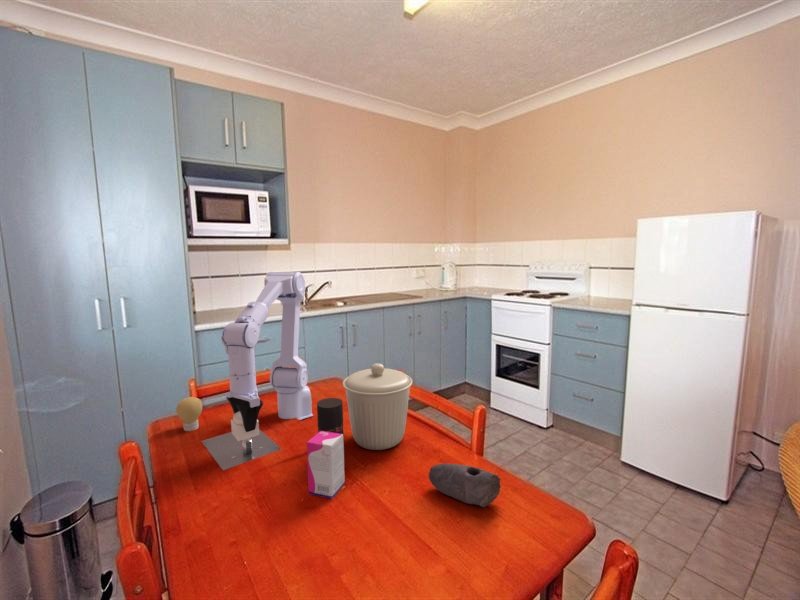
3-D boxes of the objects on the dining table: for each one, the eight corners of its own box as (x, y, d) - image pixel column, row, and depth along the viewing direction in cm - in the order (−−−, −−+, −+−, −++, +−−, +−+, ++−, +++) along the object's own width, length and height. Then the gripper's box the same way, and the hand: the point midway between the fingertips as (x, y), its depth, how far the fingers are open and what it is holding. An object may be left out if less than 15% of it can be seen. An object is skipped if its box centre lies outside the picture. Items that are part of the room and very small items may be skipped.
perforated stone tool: (423, 492, 81) (423, 461, 80) (434, 479, 85) (434, 450, 84) (492, 518, 73) (493, 484, 72) (501, 503, 77) (502, 470, 76)
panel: (254, 428, 110) (253, 414, 109) (282, 453, 97) (281, 436, 96) (201, 445, 101) (200, 429, 100) (223, 475, 87) (222, 456, 87)
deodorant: (349, 459, 94) (347, 400, 92) (334, 472, 88) (333, 409, 86) (328, 454, 96) (326, 396, 94) (313, 466, 91) (311, 405, 89)
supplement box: (345, 483, 84) (344, 433, 83) (332, 499, 79) (330, 446, 77) (322, 478, 86) (320, 429, 85) (307, 494, 80) (305, 442, 79)
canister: (401, 421, 114) (401, 352, 111) (421, 452, 97) (421, 371, 94) (340, 429, 109) (338, 357, 106) (349, 463, 92) (347, 378, 89)
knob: (231, 433, 94) (230, 412, 94) (252, 427, 98) (251, 407, 97) (237, 441, 91) (236, 419, 90) (259, 434, 94) (258, 413, 93)
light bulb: (209, 427, 111) (206, 393, 110) (195, 438, 105) (192, 402, 104) (188, 426, 112) (185, 393, 110) (173, 437, 105) (170, 402, 104)
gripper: (215, 368, 95) (219, 421, 97) (235, 383, 84) (239, 442, 86) (244, 363, 100) (247, 413, 101) (267, 376, 89) (270, 432, 91)
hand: (246, 426), depth 94 cm, fingers closed on knob, 5 cm apart
